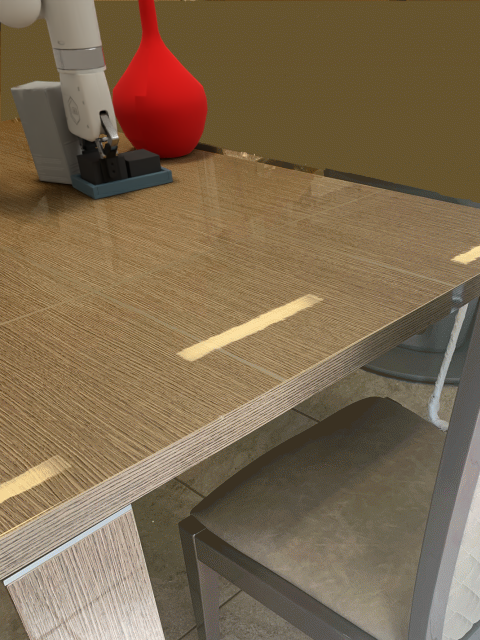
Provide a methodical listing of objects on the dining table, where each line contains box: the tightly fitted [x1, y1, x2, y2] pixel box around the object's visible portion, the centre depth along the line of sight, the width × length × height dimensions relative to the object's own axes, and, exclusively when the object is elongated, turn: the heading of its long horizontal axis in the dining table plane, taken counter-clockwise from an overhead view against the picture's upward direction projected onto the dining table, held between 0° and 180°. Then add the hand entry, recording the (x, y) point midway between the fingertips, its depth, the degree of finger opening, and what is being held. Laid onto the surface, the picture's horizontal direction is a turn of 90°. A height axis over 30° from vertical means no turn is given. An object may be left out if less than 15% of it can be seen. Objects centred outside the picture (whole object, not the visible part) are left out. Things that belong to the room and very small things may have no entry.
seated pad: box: [118, 149, 162, 178], centre depth 116 cm, size 6×6×4 cm
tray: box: [70, 165, 174, 200], centre depth 115 cm, size 15×9×2 cm, turn 131°
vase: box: [112, 0, 209, 159], centre depth 124 cm, size 18×18×30 cm
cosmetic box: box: [10, 80, 83, 185], centre depth 113 cm, size 8×7×16 cm
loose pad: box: [77, 151, 128, 186], centre depth 111 cm, size 6×6×4 cm
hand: (104, 176), depth 112 cm, fingers closed on loose pad, 6 cm apart
